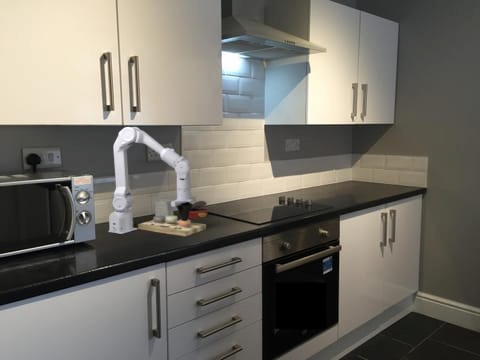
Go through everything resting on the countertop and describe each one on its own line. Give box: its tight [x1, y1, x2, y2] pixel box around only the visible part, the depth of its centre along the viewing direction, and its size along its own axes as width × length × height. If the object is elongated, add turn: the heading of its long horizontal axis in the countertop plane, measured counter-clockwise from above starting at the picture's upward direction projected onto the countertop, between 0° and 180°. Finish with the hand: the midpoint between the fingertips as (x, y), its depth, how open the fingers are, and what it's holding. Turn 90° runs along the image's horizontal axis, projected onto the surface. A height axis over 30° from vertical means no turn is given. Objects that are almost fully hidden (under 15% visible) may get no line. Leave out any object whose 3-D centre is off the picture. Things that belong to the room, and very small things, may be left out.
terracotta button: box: [178, 218, 192, 226], centre depth 179 cm, size 5×5×2 cm
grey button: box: [152, 216, 165, 223], centre depth 186 cm, size 5×5×2 cm
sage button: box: [166, 214, 179, 223], centre depth 182 cm, size 5×5×2 cm
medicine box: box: [154, 198, 174, 219], centre depth 205 cm, size 8×4×9 cm, turn 59°
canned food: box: [188, 200, 209, 219], centre depth 208 cm, size 11×10×10 cm
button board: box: [137, 219, 207, 237], centre depth 182 cm, size 14×26×2 cm, turn 59°
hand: (184, 220), depth 178 cm, fingers closed, pressing on terracotta button
